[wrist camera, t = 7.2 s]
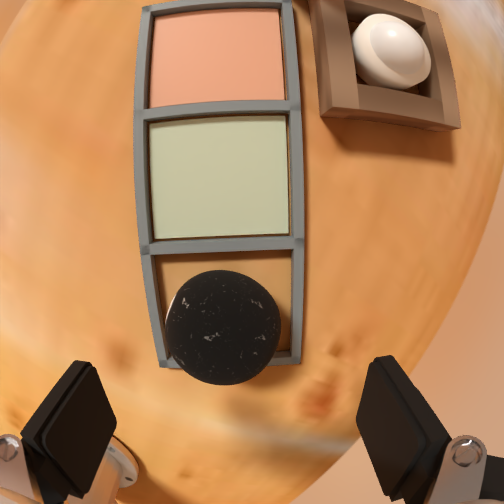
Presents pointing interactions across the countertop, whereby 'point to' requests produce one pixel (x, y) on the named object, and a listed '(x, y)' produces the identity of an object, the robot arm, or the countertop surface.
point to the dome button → (389, 53)
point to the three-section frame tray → (218, 141)
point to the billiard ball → (222, 327)
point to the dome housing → (371, 97)
